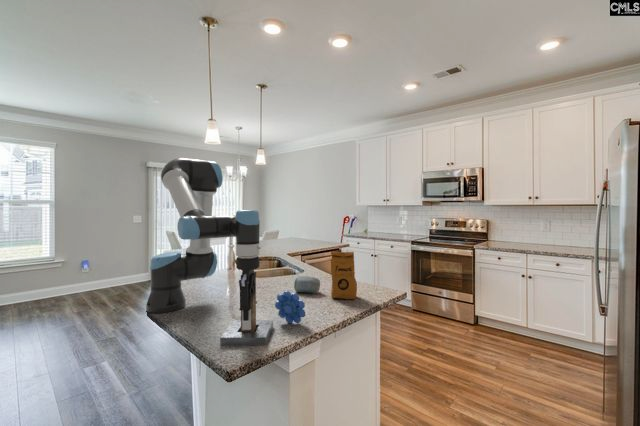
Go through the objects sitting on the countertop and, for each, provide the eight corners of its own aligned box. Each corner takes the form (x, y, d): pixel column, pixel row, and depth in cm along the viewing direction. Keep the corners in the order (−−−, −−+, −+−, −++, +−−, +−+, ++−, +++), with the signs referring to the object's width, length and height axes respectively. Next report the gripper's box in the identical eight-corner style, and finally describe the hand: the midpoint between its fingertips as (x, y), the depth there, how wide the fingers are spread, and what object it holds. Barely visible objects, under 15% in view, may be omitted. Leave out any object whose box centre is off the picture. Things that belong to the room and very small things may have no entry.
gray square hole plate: (220, 345, 90) (220, 337, 90) (234, 327, 104) (233, 320, 104) (265, 345, 90) (265, 337, 90) (273, 327, 104) (273, 320, 104)
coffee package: (356, 301, 132) (356, 253, 132) (329, 300, 135) (329, 252, 135) (357, 295, 142) (357, 250, 142) (332, 293, 145) (332, 249, 144)
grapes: (271, 326, 104) (270, 293, 104) (277, 319, 111) (277, 288, 111) (302, 329, 102) (302, 295, 102) (307, 321, 108) (306, 289, 108)
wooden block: (240, 332, 95) (240, 295, 95) (244, 327, 99) (243, 292, 99) (253, 332, 95) (252, 295, 95) (256, 327, 99) (255, 292, 99)
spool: (288, 287, 145) (296, 268, 148) (295, 291, 153) (303, 273, 156) (311, 297, 139) (319, 278, 142) (317, 301, 147) (325, 282, 150)
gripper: (253, 260, 88) (253, 337, 88) (264, 252, 105) (264, 317, 105) (228, 260, 88) (229, 337, 88) (243, 252, 105) (244, 317, 105)
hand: (248, 326), depth 97 cm, fingers closed on wooden block, 4 cm apart
